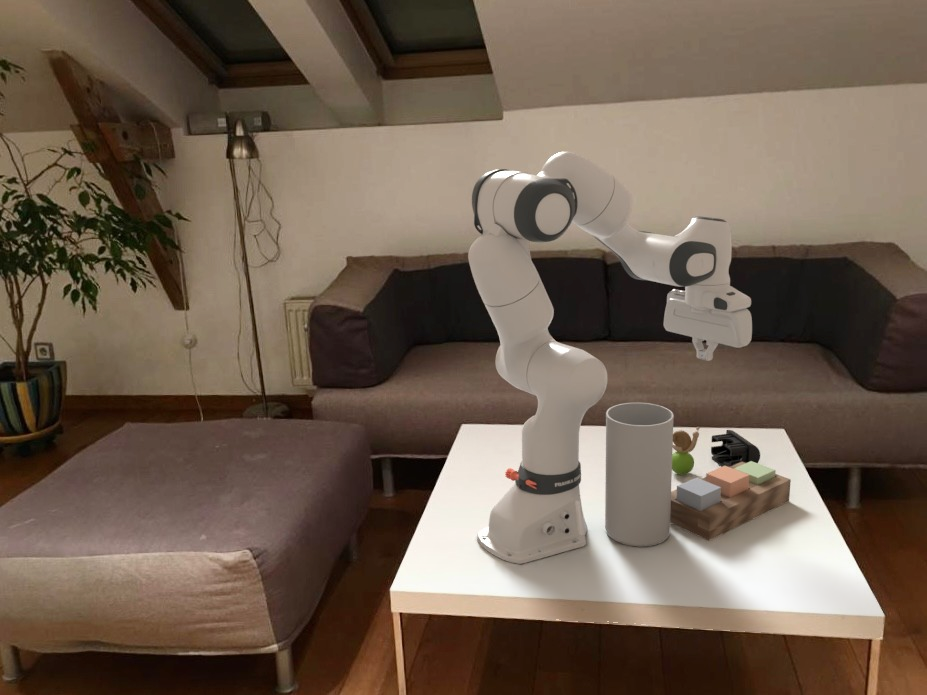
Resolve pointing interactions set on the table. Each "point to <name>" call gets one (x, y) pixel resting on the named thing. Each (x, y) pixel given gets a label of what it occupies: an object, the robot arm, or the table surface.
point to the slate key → (698, 494)
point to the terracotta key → (729, 480)
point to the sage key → (757, 472)
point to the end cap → (733, 450)
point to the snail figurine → (683, 451)
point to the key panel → (731, 508)
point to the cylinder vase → (638, 473)
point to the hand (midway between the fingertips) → (704, 359)
